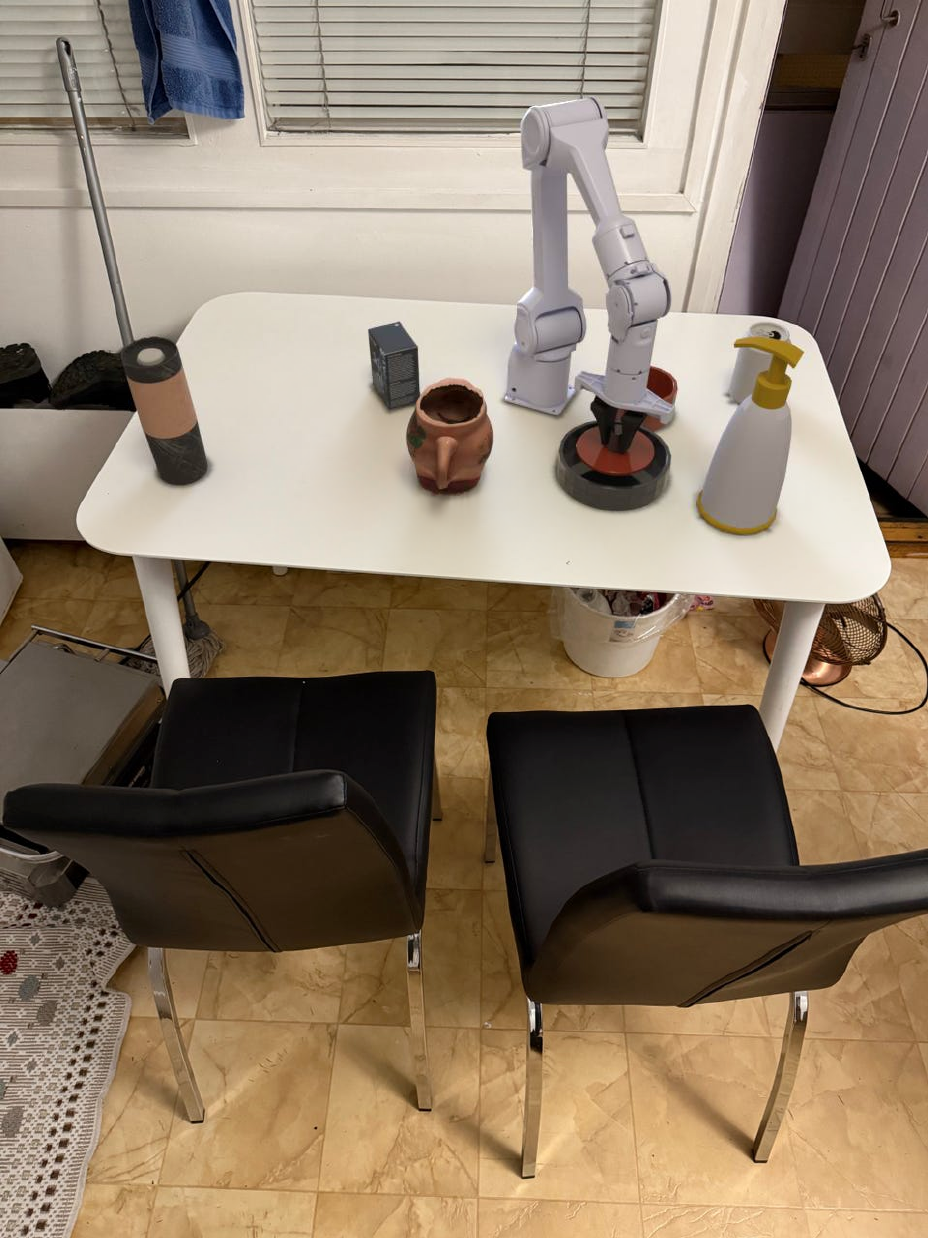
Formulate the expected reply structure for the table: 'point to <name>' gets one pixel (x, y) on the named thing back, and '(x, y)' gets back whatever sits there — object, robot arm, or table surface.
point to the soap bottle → (753, 449)
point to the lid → (614, 452)
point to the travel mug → (165, 409)
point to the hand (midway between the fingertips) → (615, 445)
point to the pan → (612, 488)
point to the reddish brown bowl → (663, 388)
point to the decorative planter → (449, 437)
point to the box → (394, 365)
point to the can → (754, 359)
